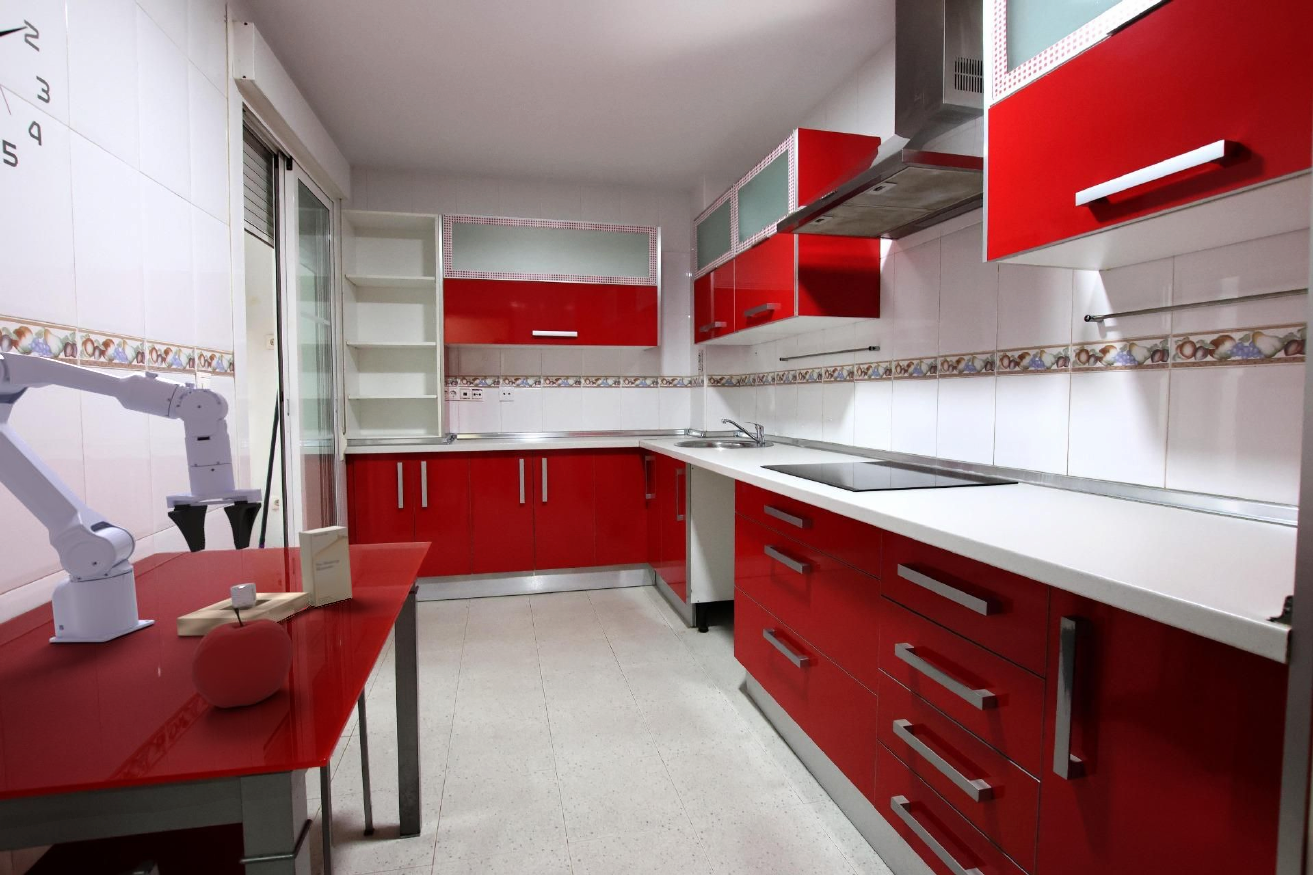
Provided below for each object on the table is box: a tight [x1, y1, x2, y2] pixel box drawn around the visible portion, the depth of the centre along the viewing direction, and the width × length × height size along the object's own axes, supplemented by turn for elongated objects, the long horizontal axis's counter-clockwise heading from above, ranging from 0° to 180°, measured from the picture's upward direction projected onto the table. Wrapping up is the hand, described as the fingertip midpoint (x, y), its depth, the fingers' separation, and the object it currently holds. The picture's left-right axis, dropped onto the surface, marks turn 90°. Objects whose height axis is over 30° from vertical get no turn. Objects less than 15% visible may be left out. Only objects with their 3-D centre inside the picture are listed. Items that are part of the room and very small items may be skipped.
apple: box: [190, 608, 294, 709], centre depth 68 cm, size 9×9×10 cm
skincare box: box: [298, 525, 353, 607], centre depth 104 cm, size 6×4×12 cm
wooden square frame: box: [176, 591, 311, 636], centre depth 96 cm, size 12×12×2 cm
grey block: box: [229, 582, 257, 610], centre depth 96 cm, size 3×3×6 cm
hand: (220, 549), depth 100 cm, fingers open, 7 cm apart
